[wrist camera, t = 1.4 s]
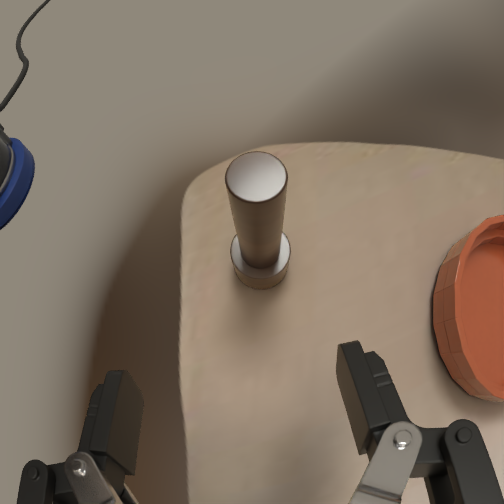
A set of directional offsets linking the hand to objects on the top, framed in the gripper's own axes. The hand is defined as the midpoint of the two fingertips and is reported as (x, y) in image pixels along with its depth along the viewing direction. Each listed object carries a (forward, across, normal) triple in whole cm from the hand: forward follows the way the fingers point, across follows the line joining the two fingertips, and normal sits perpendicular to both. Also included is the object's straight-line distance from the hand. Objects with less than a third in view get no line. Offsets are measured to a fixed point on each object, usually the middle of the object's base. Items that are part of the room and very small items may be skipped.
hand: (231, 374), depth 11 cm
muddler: (+13, -2, +4) cm, 14 cm away
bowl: (+7, -22, +9) cm, 25 cm away
